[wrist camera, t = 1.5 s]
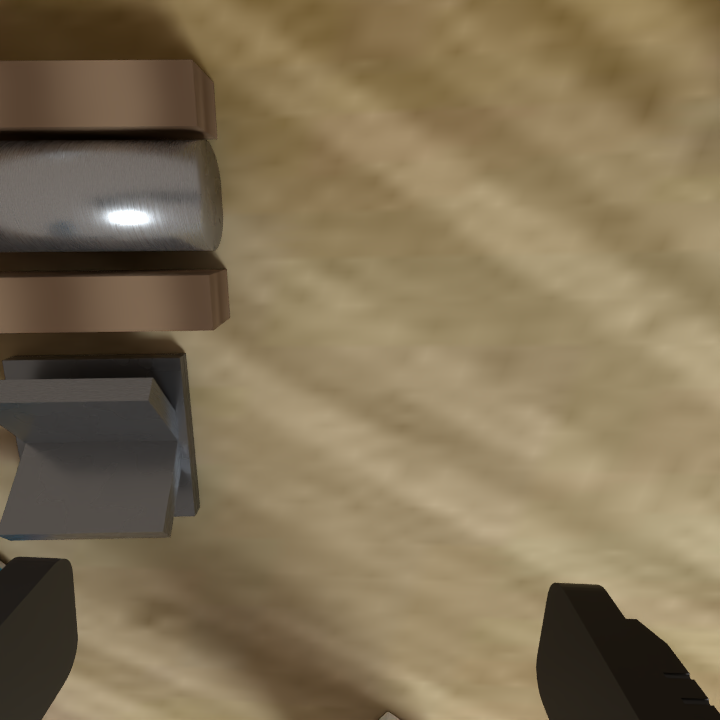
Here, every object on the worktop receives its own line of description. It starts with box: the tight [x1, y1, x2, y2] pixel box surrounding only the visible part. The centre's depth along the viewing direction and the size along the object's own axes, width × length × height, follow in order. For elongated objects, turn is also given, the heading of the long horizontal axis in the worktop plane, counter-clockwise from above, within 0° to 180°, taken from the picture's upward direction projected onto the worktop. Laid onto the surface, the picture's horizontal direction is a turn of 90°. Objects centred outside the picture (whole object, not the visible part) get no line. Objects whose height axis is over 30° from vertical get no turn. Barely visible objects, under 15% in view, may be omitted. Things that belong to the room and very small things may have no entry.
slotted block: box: [0, 60, 230, 333], centre depth 25 cm, size 14×11×4 cm
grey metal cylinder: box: [0, 140, 223, 252], centre depth 24 cm, size 12×5×5 cm, turn 90°
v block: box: [0, 353, 200, 541], centre depth 27 cm, size 9×9×4 cm
